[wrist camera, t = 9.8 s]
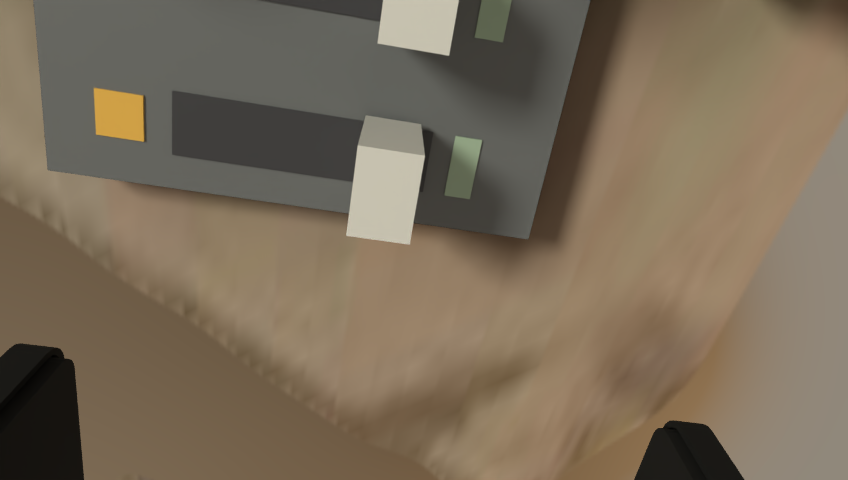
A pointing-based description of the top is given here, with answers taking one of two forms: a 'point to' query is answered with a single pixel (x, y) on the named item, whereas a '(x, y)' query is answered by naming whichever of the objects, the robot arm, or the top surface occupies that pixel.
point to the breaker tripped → (386, 180)
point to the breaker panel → (307, 99)
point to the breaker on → (418, 24)
